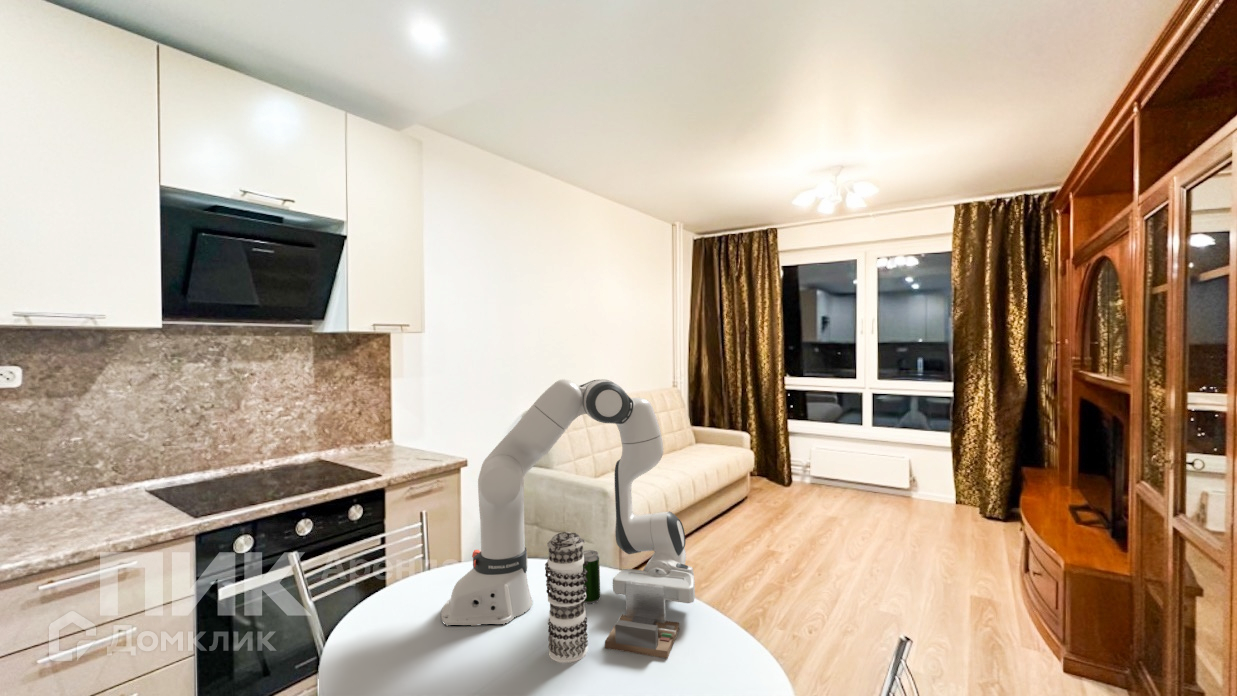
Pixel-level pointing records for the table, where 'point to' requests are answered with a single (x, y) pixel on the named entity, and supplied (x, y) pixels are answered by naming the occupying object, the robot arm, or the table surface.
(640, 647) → the base
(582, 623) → the decorative candle
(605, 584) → the table surface
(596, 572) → the green soda can
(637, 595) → the brushed metal plate
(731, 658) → the table surface
